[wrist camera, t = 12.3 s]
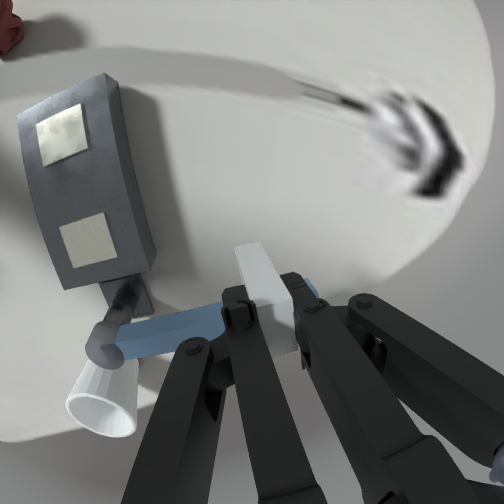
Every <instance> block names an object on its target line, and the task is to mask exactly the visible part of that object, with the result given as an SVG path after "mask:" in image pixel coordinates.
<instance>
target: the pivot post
mask: <svg viewBox="0 0 504 504" xmlns="http://www.w3.org/2000/svg"><path fill="white" fill-rule="evenodd" d="M99 285H100V287H101V290H102V292H103V294H104V297H105V299H106V301H107V304H108V306H109V309H108V311H107V313H106V315H105V317H104V319H103V321H112V322H115V323H117V324H119V325H120V326H121V325H125V324H130V323H131V320H132V318H136V317H142V316H147V315H152V314H154V309H153V307H152V304H151V302H150V299H149V296H148V294H147V291H146V288H145V286H144V283H143V280H142V277H141V275H140V273H137V274H133V275H128V276H124V277H119V278H115V279H111V280H106V281H102V282H100V284H99Z"/></svg>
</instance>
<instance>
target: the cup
mask: <svg viewBox="0 0 504 504" xmlns="http://www.w3.org/2000/svg"><path fill="white" fill-rule="evenodd" d="M138 374H139V360H138V358H137V359H131V360H125V361H124V364H123V365H122V366H121V367H120V368H118V369H114V370H109V369H104V368H101V367H99V366H97V365H96V364H94V363H93V362H92V361H91V360H90V359H89V360H88V362H87V363H86V365H85V367H84V369H83V371H82V372H81V374H80V376H79V378H78V380H77V381H76V383H75V385H74V387H73V389H72V391H71V393H70V395H69V397H68V399H67V401H66V407H67V409H68V411H69V413H70V415H71V416H72V417H73V418H74V419H75V420H76V421H77V422H78V423H79V424H81V425H82V426H84V427H85V428H87V429H89V430H91V431H93V432H95V433H98V434H101V435H105V436H110V437H124V436H129V435H130V434H133V433H134V432H135V431H136V428H137V427H136V426H137V393H138Z"/></svg>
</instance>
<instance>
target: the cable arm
mask: <svg viewBox="0 0 504 504" xmlns="http://www.w3.org/2000/svg"><path fill="white" fill-rule="evenodd" d="M304 280H305V282H306V283H307V284H308V286H309V287H310V289H311V290H312V291H313V293H314V294H315V295H316V297H317V298H319V297H318V292H317V291H316V289H315V288H314V287H313V285H312V284H311V283H310V281H309V280H308V279H304ZM222 307H223V302H219V303H215V304H211V305H207V306H203V307H199V308H195V309H191V310H187V311H183V312H179V313H174V314H170V315H166V316H161V317H157V318H153V319H148V320H144V321H139V322H135V323H130V324H125V325H121V326H120V325H119V324H117V323H115V322H112V321H101V322H98V323H97V324H96V325H95V326H94V328H93V330H92V332H91V335H90V337H89V339H88V341H87V343H86V346H85V351H86V354H87V356H88V357H89V359H90V360H91V361H92V362H93V363H94V364H96V365H97V366H99V367H101V368H104V369H109V370H114V369H118V368H120V367H121V366H122V365H123V364H124V361H125V360H131V359H137V358H143V357H148V356H154V355H159V354H164V353H169V352H174V351H176V349H177V347H178V346H179V344H180V343H182V342H183V341H184V340H186V339H189V338H192V337H203V338H206V339H207V340H208V341H211V340H213V339H215V338H217V337H219V336H220V335H221V334H222V333H223V332H224V331H225V325H224V322H223V318H222V315H221V308H222Z"/></svg>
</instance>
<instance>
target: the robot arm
mask: <svg viewBox="0 0 504 504" xmlns="http://www.w3.org/2000/svg"><path fill="white" fill-rule="evenodd" d="M234 249H235V254H236V259H237V264H238V268H239V273H240V278H241V282H242V285H239V286H235V287H231V288H226V289H225V290H224V291H223V293H222V301H223V307H222V308H221V315H222V318H223V322H224V325H225V331H224V332H223V333H222V334H221V335H220V336H219V337H217V338H215V339H213V340H211V341H208V340H207V339H206V338H203V337H192V338H189V339H186V340H184V341H183V342H182V343H180V344H179V346H178V347H177V349H176V352H175V354H174V357H173V359H172V362H171V364H170V367H169V370H168V372H167V375H166V377H165V380H164V383H163V385H162V388H161V390H160V393H159V396H158V398H157V401H156V404H155V406H154V409H153V412H152V415H151V417H150V420H149V423H148V425H147V428H146V431H145V434H144V436H143V439H142V442H141V445H140V448H139V451H138V454H137V456H136V459H135V462H134V465H133V468H132V471H131V474H130V477H129V480H128V483H127V486H126V489H125V492H124V495H123V498H122V502H121V504H207V503H208V497H209V491H210V485H211V479H212V473H213V468H214V461H215V456H216V449H217V444H218V438H219V432H220V426H221V420H222V414H223V409H224V403H225V396H226V388H227V387H229V386H231V385H233V384H235V386H236V392H237V397H238V403H239V408H240V413H241V418H242V423H243V428H244V433H245V438H246V443H247V447H248V452H249V457H250V461H251V466H252V470H253V475H254V479H255V483H256V488H257V492H258V504H327V501H326V498H325V496H324V493H323V491H322V489H321V487H320V486H319V485H318V484H317V482H316V480H315V477H314V474H313V472H312V469H311V466H310V464H309V461H308V458H307V456H306V453H305V450H304V447H303V445H302V442H301V439H300V437H299V434H298V431H297V428H296V425H295V423H294V420H293V417H292V415H291V412H290V409H289V406H288V403H287V400H286V397H285V395H284V392H283V389H282V386H281V384H280V380H279V378H278V375H277V372H276V369H275V367H274V363H273V361H272V358H271V357H274V356H277V355H281V354H285V353H289V352H292V351H295V350H298V346H297V342H298V344H299V346H300V349H301V360H302V369H305V367H306V369H307V371H308V373H309V375H310V377H311V379H312V381H313V384H314V386H315V388H316V390H317V392H318V395H319V397H320V399H321V401H322V403H323V405H324V408H325V410H326V412H327V414H328V416H329V418H330V421H331V423H332V425H333V427H334V429H335V431H336V434H337V436H338V438H339V440H340V442H341V444H342V446H343V449H344V451H345V453H346V455H347V457H348V460H349V462H350V464H351V466H352V468H353V470H354V473H355V475H356V477H357V479H358V481H359V483H360V486H361V489H362V496H363V501H364V504H504V486H497V485H492V484H486V483H481V482H476V481H472V480H467V479H465V478H464V476H463V474H462V473H461V471H460V470H459V468H458V467H457V466H456V464H455V462H454V461H453V459H452V458H451V456H450V455H449V453H448V452H447V450H446V449H445V447H444V446H443V445H442V443H441V442H440V441H439V440H438V439H437V438H436V437H434V436H433V435H424V434H422V433H421V432H420V431H419V429H418V428H417V427H416V425H415V424H414V422H413V421H412V419H411V418H410V416H409V415H408V413H407V412H406V410H405V409H404V408H403V406H402V405H401V403H400V402H399V400H398V399H400V400H401V401H402V402H403V403H404V404H405V405H407V406H408V407H409V408H410V409H411V410H412V411H414V412H415V413H416V414H417V415H418V416H420V417H421V418H422V419H423V420H424V421H425V422H427V423H428V424H429V425H430V426H431V427H433V428H434V429H435V430H436V431H437V432H439V433H440V434H441V435H442V436H443V437H445V438H446V439H447V440H448V441H449V442H451V443H452V444H453V445H454V446H456V447H457V448H458V449H459V450H460V451H462V452H463V453H464V454H465V455H467V456H468V457H469V458H471V459H472V460H474V461H476V462H478V463H480V464H481V465H483V466H487V467H490V468H492V470H491V472H490V474H489V479H490V480H491V482H494V483H495V482H500V483H502V484H503V485H504V376H503V375H502V374H500V373H499V372H497V371H496V370H494V369H493V368H491V367H489V366H488V365H486V364H485V363H483V362H482V361H480V360H479V359H477V358H475V357H474V356H472V355H470V354H469V353H468V352H466V351H465V350H463V349H461V348H460V347H458V346H456V345H455V344H453V343H452V342H450V341H449V340H447V339H445V338H444V337H442V336H441V335H439V334H437V333H436V332H434V331H433V330H431V329H429V328H428V327H426V326H425V325H423V324H421V323H420V322H418V321H416V320H415V319H413V318H411V317H410V316H408V315H406V314H405V313H403V312H402V311H400V310H398V309H397V308H395V307H393V306H391V305H390V304H388V303H387V302H385V301H383V300H382V299H380V298H378V297H377V296H374V295H372V294H366V293H362V294H357V295H354V296H353V297H351V298H350V300H349V302H348V306H330V305H329V303H328V302H326V301H325V300H323V299H320V298H317V297H316V295H315V294H314V293H313V291H312V290H311V289H310V287H309V286H308V284H307V283H306V282H305V280H304V279H303V278H302V276H301V275H299V274H297V273H295V272H291V273H287V274H283V275H279V274H278V273H277V271H276V269H275V267H274V266H273V264H272V262H271V261H270V259H269V257H268V256H267V254H266V252H265V250H264V249H263V247H262V245H261V244H260V242H259V241H258V242H253V243H249V244H244V245H240V246H235V247H234ZM377 338H378V339H380V340H381V341H382V342H381V341H379V340H378V339H377ZM397 398H398V399H397Z"/></svg>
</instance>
